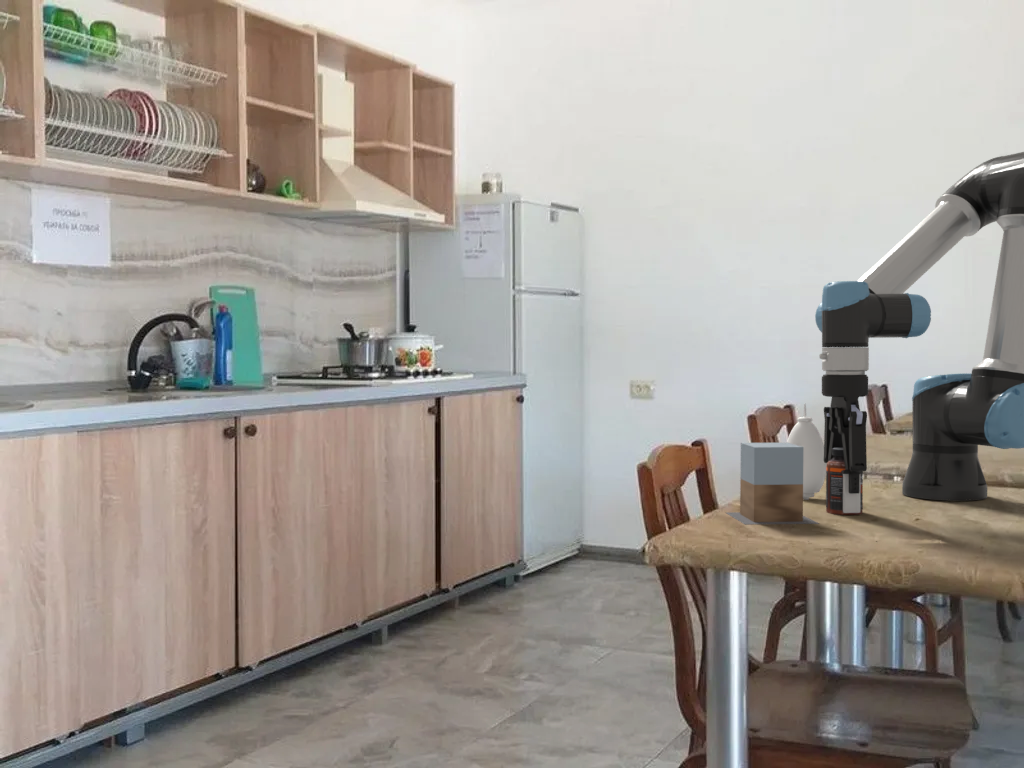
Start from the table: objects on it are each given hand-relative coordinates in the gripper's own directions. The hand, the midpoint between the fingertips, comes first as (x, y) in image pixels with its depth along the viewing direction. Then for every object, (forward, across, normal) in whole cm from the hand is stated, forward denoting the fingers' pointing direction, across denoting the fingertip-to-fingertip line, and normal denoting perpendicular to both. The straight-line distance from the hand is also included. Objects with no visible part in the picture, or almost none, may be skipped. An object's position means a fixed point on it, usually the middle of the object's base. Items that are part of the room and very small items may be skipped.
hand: (844, 509), depth 184 cm
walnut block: (0, +5, -14) cm, 15 cm away
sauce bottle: (+1, -20, 0) cm, 20 cm away
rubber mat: (+1, +5, -14) cm, 15 cm away
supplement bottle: (+1, 0, 0) cm, 1 cm away
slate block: (-6, +5, -14) cm, 16 cm away
